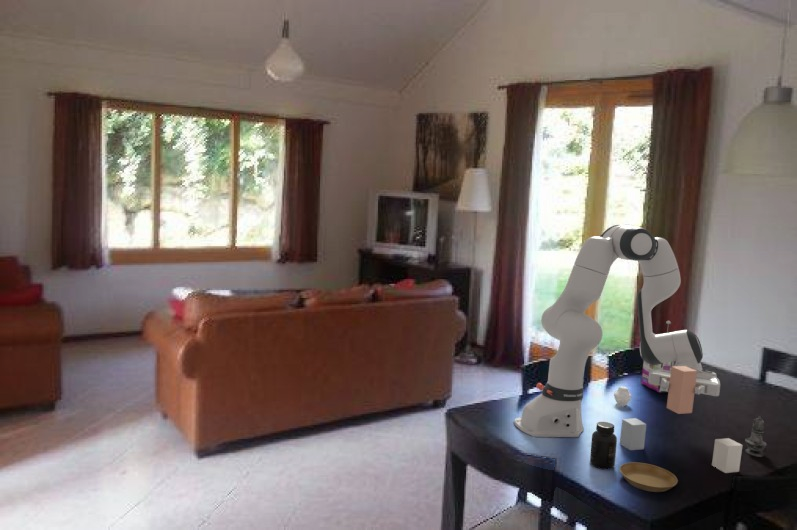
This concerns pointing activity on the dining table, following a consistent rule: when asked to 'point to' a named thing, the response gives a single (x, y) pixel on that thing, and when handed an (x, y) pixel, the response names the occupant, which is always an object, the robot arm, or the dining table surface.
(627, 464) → the plant saucer
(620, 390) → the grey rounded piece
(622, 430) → the grey-blue block
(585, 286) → the robot arm
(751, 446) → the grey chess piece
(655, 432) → the dining table surface
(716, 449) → the off-white block
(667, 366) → the candy bar box
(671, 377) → the coral block
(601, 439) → the supplement bottle
